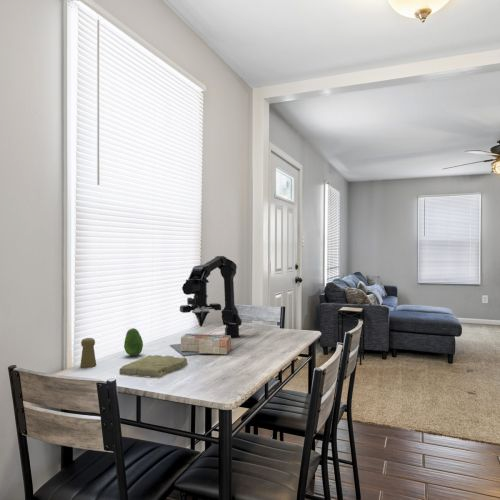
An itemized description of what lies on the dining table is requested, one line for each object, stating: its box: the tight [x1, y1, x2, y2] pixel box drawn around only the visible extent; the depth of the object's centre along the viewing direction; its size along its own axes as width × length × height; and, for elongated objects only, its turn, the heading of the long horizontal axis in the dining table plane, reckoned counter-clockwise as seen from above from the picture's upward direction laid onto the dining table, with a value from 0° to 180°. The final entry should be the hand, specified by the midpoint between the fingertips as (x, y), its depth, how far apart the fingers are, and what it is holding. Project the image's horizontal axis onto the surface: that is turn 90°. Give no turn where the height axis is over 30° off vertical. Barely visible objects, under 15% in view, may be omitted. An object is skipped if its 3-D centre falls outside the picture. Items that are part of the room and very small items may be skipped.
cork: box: [79, 337, 97, 369], centre depth 164 cm, size 6×6×11 cm
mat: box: [169, 343, 208, 357], centre depth 190 cm, size 12×23×1 cm, turn 25°
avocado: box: [123, 327, 144, 357], centre depth 179 cm, size 8×8×12 cm
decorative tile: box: [119, 354, 188, 378], centre depth 158 cm, size 19×20×4 cm
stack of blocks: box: [180, 333, 232, 355], centre depth 185 cm, size 21×6×12 cm
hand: (200, 326), depth 192 cm, fingers closed
